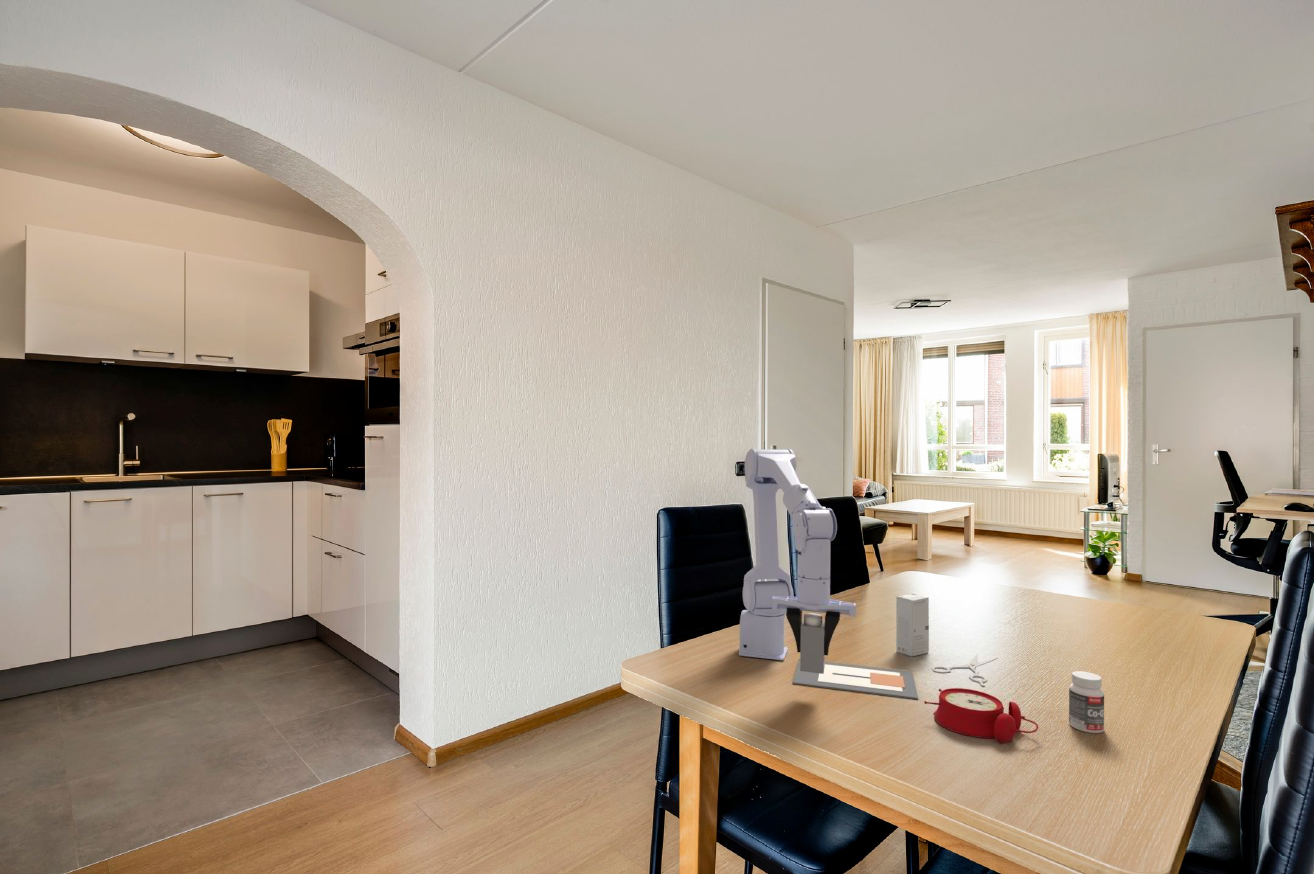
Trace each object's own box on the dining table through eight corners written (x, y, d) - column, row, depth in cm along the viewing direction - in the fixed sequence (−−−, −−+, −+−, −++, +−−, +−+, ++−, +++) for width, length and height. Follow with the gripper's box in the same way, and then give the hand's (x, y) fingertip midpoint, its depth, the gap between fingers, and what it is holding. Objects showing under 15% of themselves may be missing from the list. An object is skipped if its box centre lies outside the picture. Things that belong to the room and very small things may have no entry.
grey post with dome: (800, 671, 113) (800, 617, 114) (802, 663, 117) (802, 611, 117) (823, 673, 112) (824, 619, 112) (824, 666, 116) (825, 613, 116)
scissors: (927, 671, 128) (962, 647, 142) (926, 674, 128) (962, 651, 142) (984, 685, 120) (1015, 659, 135) (984, 689, 120) (1015, 663, 135)
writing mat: (792, 683, 121) (792, 681, 121) (799, 660, 134) (799, 657, 134) (918, 699, 114) (918, 696, 114) (912, 672, 127) (912, 670, 127)
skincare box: (912, 657, 137) (913, 600, 137) (894, 651, 140) (895, 596, 141) (930, 652, 140) (930, 597, 140) (912, 646, 144) (912, 592, 144)
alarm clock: (939, 682, 113) (1036, 684, 103) (947, 720, 112) (1046, 726, 102) (918, 700, 105) (1021, 704, 95) (927, 741, 104) (1032, 750, 94)
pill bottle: (1091, 736, 100) (1092, 682, 100) (1062, 723, 105) (1062, 672, 105) (1110, 730, 102) (1111, 678, 102) (1081, 719, 107) (1081, 668, 107)
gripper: (769, 577, 113) (769, 654, 113) (855, 584, 109) (854, 664, 109) (775, 570, 120) (774, 642, 120) (856, 575, 116) (855, 651, 115)
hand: (812, 652), depth 115 cm, fingers closed on grey post with dome, 4 cm apart
